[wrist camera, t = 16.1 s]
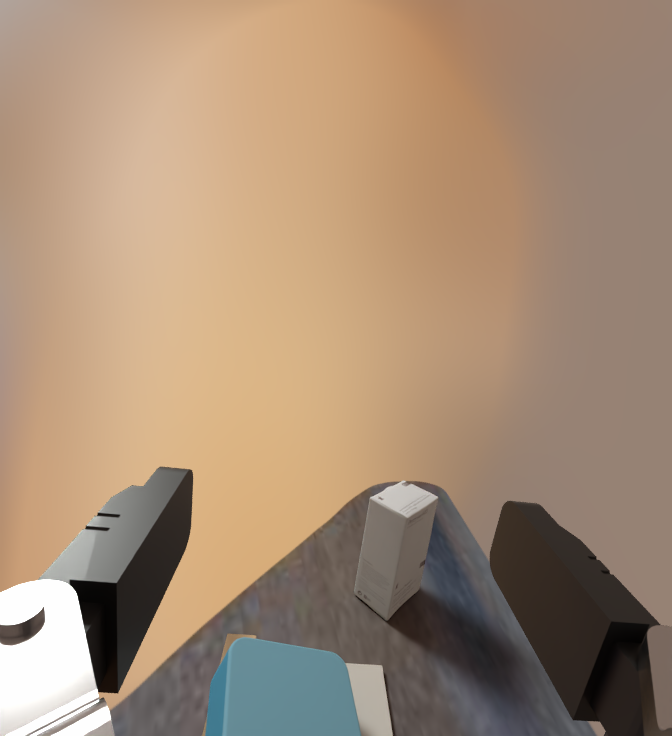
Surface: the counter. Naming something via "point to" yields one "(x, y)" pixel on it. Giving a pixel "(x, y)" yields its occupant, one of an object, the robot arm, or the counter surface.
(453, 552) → the counter surface
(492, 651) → the counter surface
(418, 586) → the skincare box
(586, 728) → the counter surface
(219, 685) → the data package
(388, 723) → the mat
